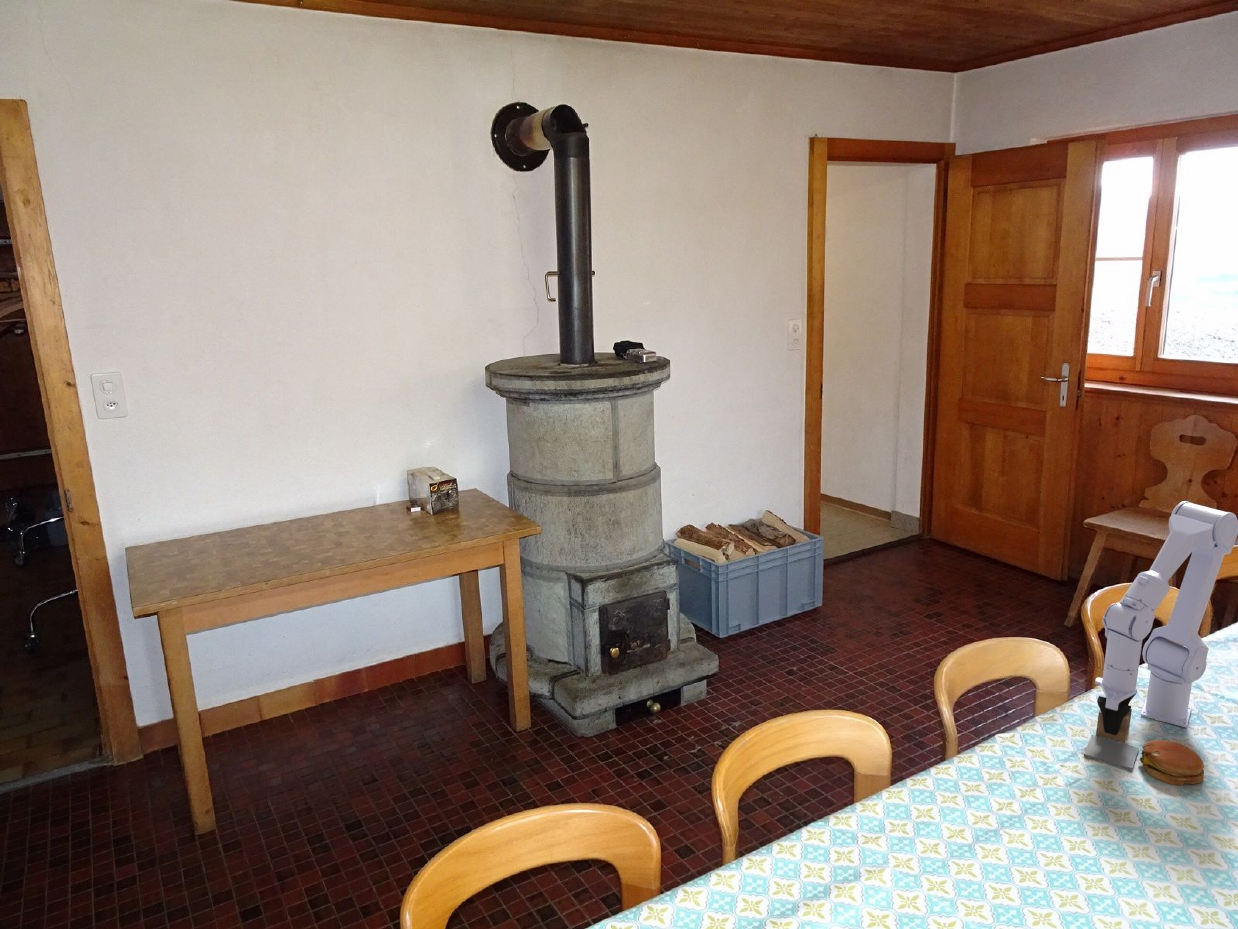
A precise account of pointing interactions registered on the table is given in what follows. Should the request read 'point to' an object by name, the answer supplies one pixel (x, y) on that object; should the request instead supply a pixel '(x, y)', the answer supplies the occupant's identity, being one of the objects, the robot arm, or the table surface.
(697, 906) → the table surface
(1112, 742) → the slate coaster
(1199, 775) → the burger
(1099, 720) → the walnut cube
